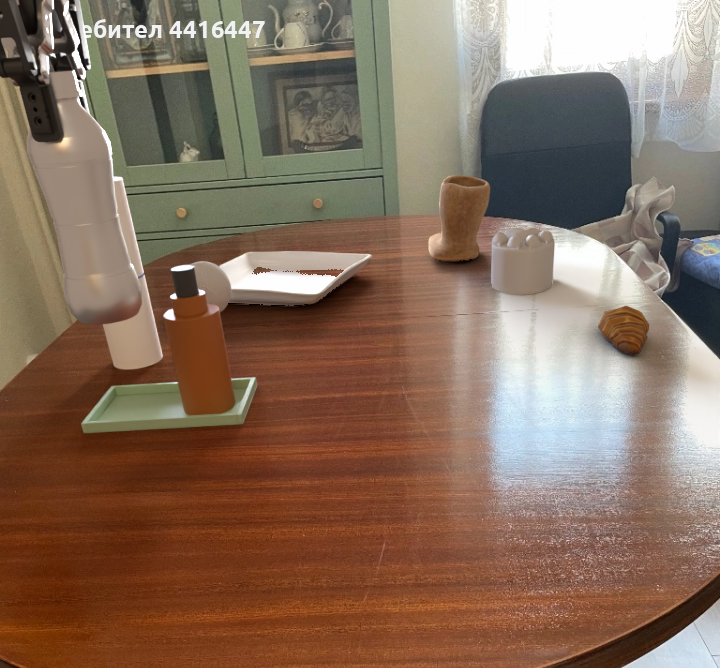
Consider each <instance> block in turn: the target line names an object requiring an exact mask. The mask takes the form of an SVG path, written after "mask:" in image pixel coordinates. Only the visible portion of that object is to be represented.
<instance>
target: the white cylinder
mask: <svg viewBox="0 0 720 668" xmlns="http://www.w3.org/2000/svg"><path fill="white" fill-rule="evenodd" d="M189 265H192V266H194V269H195V274H196V279H197V285H198V290H203V291H205V293H206V299H207V303H208V304H214V305H216V306H218V307H219V312H220V313H221V312H223V311H224V310H225V309H226V308H227V306H228V305H229V304H228V303H229V301H230V297H231V284H230V281H229V278H228V276H227V275H226V273H225V272H224V271H223V270H222V269H221V268H220V267H219V266H220V265H217V264H216V263H214V262H209V261H205V260H204V261H203V260H201V261H195V262H193V263H190V264H189Z"/></svg>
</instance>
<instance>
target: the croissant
mask: <svg viewBox="0 0 720 668" xmlns="http://www.w3.org/2000/svg"><path fill="white" fill-rule="evenodd" d="M597 329H598V330H599V331H600V333H601V334H602V336H603V337H604V339H605V340H606V342H608V343H609V344H610V345H612V346H613V348H614V349H616V350H618V351H619V352H620V353H623V354H625V355H629V356H638V355H639V354H640V353H641V351H642V350H643V347H644V346H645V344H646V342H647V340H648V338H649V337H648V333H649V331H650V322H649V321H648V320H647V319H646V317H645V315H644V313H643V311H640V310H639V309H636V308H634V307H631V306H629V305H624V306H621V307H617V308H614V309H609V310H606V311H604V312H603V314H602V316H601V318H600V320H599V322H598V324H597Z"/></svg>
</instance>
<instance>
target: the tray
mask: <svg viewBox="0 0 720 668" xmlns="http://www.w3.org/2000/svg"><path fill="white" fill-rule="evenodd" d="M232 384H233V390H234V395H235V401H236V403H235V405H234V407H233V408H231V409H230V410H228V411H226V412H224V413H222V414H206V415H188V414H186V413H185V412H184V408H183V404H182V399H181V395H180V390H179V386H178V381H171V382H153V383H139V384H138V383H135V384H122V385H119V384H118V385H111V386H110V388H108V390H107V391H106V392H105V393H104V394H103V396H102V397H101V398H100V399H99V400H98V402H97V403H96V404H95V405H94V407H93V408H92V409H91V411H90V412H89V413H88V414H87V415H86V417H85V418H84V419H83V420H82V422H81V423H80V425H81V429H82V432H83V434H93V433H94V434H95V433H109V432H128V431H144V430H145V431H146V430H161V429H162V430H163V429H179V428H195V427H196V428H197V427H215V426H216V427H217V426H230V425H231V426H233V425H244V423H245V419H246V417H247V415H248V412H249V409H250V407H251V404H252V401H253V398H254V396H255V394H256V390H257V388H258V382H257V377H256V376H251V377H250V376H249V377H237V378H236V377H235V378H232Z"/></svg>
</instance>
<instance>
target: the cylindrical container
mask: <svg viewBox="0 0 720 668" xmlns="http://www.w3.org/2000/svg"><path fill="white" fill-rule="evenodd" d="M114 188H115V196H116V202H117V208H118V209H117V214H118V215H119V220H120V226H121V230H122V233H123V236H124V240H125V243H126V246H127V250H128V253H129V257H130V260H131V264H132V265H133V267H134V269H135V271H136V274H137V276H138V279H139V282H140V285H141V288H142V305H141V308H140V310H139V313H138V314H137V315H135V316H134V317H132V318H130V319H127V320H124V321H120V322H116V323H111V324H102V327H103V332H104V336H105V338H106V342H107V346H108V350H109V353H110V358H111V361H112V364H113V367H114V368H116V369H118V370H137V369H143V368H147V367H149V366H152V365H155V364H157V363H159V362H161V360H162V359H163V357H164V355H163V350H162V346H161V341H160V336H159V333H158V329H157V324H156V319H155V315H154V311H153V306H152V301H151V297H150V292H149V289H148V284H147V280H146V275H145V271H144V267H143V263H142V258H141V253H140V248H139V245H138V240H137V236H136V231H135V227H134V221H133V218H132V213H131V210H130V205H129V200H128V196H127V192H126V188H125V182H124V178H123V177H122V176H114Z"/></svg>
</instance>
